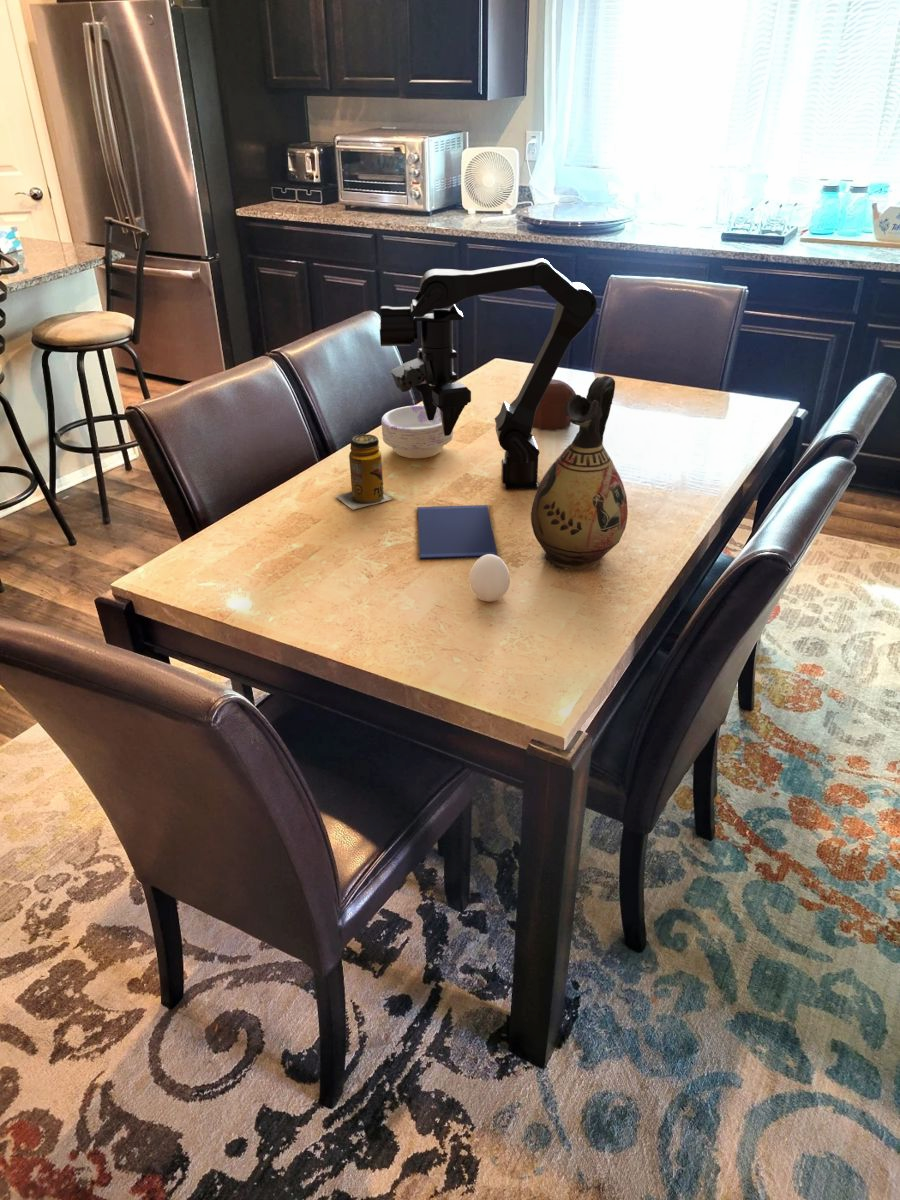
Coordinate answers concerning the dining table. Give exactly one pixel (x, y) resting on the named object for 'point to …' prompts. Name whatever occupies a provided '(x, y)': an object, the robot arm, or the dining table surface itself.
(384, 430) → the paper bowls
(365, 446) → the condiment
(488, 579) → the egg
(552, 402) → the muffin
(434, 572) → the dining table surface
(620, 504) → the ceramic jug
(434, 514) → the cloth
